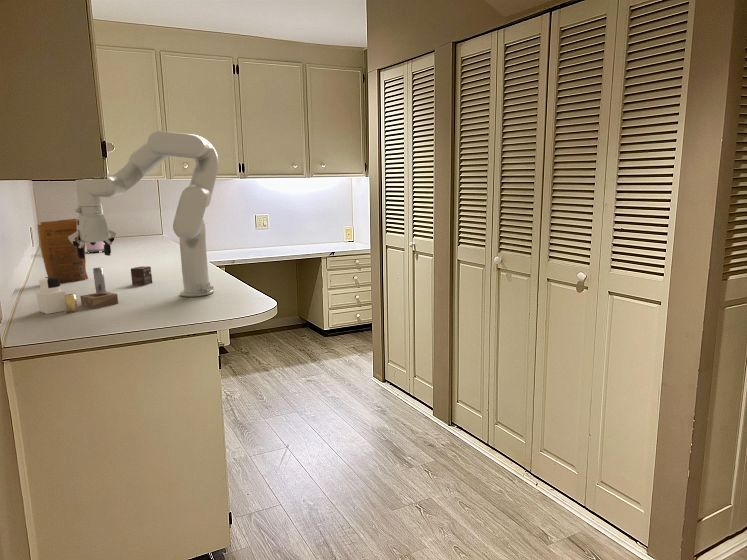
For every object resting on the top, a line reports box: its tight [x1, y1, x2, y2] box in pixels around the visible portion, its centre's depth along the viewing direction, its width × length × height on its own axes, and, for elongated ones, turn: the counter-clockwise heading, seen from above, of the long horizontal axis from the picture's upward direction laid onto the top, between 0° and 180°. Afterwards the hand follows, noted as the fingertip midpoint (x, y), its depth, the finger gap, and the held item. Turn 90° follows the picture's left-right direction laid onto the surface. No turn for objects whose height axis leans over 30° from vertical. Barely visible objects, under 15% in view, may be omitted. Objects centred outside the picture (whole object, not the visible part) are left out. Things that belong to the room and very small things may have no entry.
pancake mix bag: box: [36, 218, 89, 284], centre depth 245 cm, size 7×19×28 cm, turn 127°
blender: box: [85, 203, 105, 253], centre depth 344 cm, size 16×12×32 cm
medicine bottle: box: [36, 276, 67, 315], centre depth 191 cm, size 7×7×12 cm
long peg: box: [92, 266, 107, 293], centre depth 208 cm, size 3×3×12 cm
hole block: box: [80, 291, 119, 309], centre depth 200 cm, size 9×9×4 cm
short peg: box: [64, 293, 79, 314], centre depth 189 cm, size 3×3×6 cm
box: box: [130, 265, 153, 286], centre depth 236 cm, size 6×6×7 cm
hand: (95, 256), depth 206 cm, fingers open, 9 cm apart
